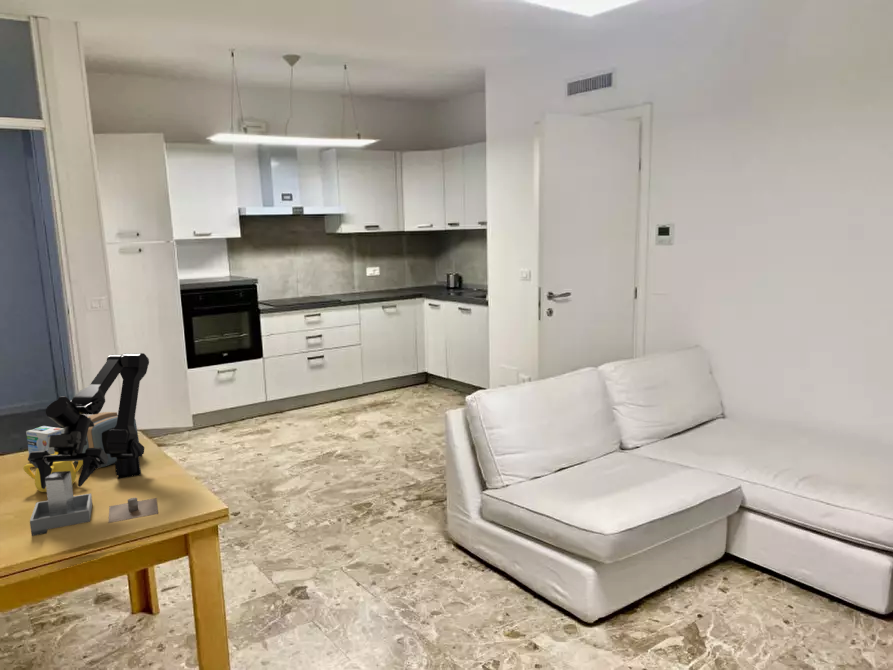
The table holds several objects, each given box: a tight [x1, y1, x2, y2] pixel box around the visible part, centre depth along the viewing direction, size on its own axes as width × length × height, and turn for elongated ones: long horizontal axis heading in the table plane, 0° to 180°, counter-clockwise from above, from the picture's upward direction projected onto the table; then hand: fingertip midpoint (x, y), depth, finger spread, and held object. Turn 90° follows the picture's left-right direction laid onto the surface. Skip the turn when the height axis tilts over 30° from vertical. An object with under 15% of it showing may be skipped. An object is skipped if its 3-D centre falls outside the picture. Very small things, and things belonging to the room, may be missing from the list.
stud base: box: [108, 497, 159, 524], centre depth 179 cm, size 12×12×4 cm
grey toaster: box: [73, 411, 140, 468], centre depth 223 cm, size 16×16×16 cm
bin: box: [29, 492, 93, 537], centre depth 175 cm, size 13×13×4 cm
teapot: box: [22, 452, 83, 493], centre depth 199 cm, size 14×13×10 cm
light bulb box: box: [25, 425, 65, 455], centre depth 224 cm, size 11×7×11 cm, turn 68°
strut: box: [45, 471, 75, 517], centre depth 174 cm, size 4×4×12 cm
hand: (61, 487), depth 174 cm, fingers open, 9 cm apart
